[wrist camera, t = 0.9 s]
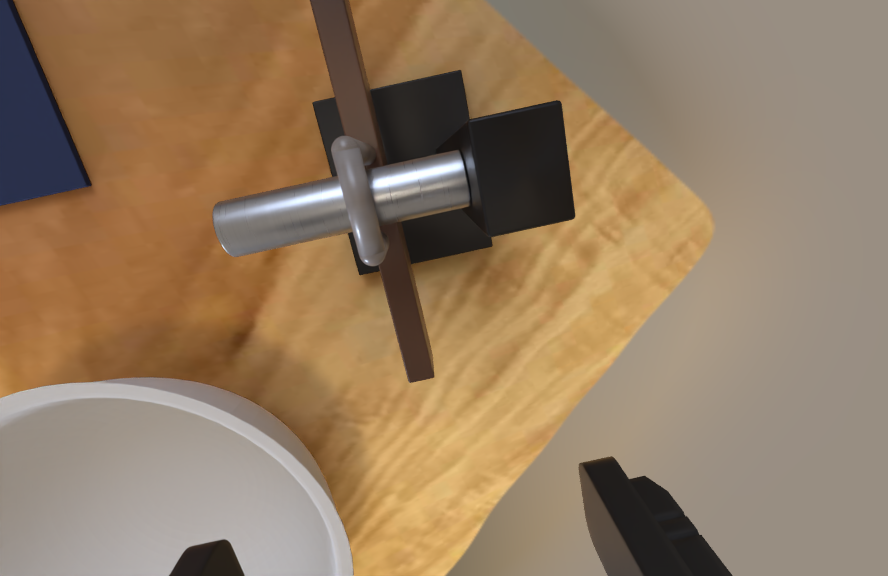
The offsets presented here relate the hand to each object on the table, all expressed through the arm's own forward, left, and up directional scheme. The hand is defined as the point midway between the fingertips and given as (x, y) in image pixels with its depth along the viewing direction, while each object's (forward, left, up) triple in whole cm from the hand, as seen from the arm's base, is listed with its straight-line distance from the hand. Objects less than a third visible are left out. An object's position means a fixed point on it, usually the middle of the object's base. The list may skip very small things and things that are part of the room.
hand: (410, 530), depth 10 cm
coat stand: (-7, +1, -24) cm, 25 cm away
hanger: (-7, 0, -12) cm, 14 cm away
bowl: (+13, -21, -24) cm, 35 cm away
